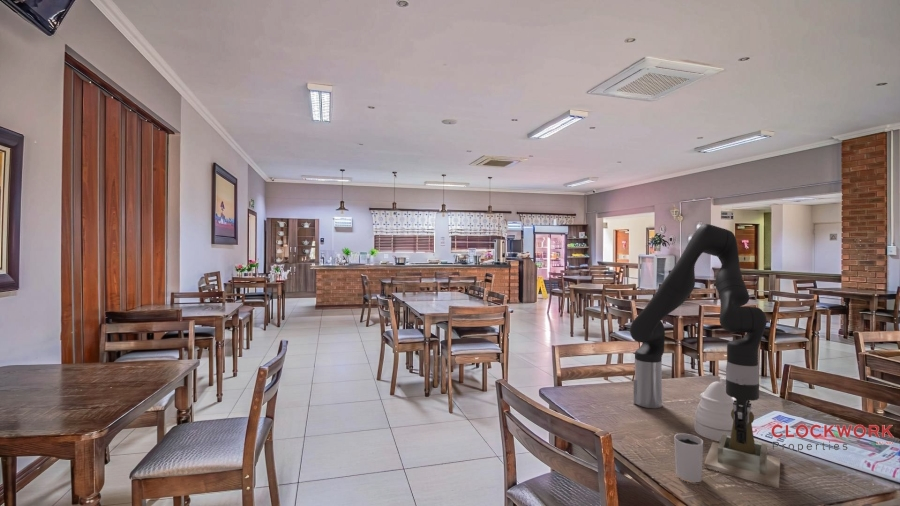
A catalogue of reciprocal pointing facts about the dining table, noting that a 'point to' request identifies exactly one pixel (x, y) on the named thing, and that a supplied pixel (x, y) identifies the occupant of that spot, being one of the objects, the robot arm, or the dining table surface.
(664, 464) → the dining table surface
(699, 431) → the honey pot
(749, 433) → the brown rounded tapered piece
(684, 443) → the white cup
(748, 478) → the stand
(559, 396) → the dining table surface
